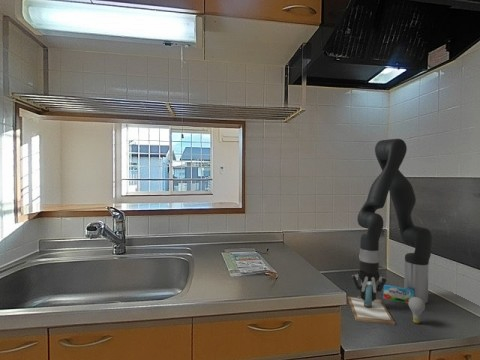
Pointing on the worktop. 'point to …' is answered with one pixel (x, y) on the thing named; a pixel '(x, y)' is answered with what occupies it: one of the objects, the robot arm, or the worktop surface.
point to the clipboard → (370, 311)
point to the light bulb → (416, 308)
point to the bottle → (368, 295)
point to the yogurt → (397, 293)
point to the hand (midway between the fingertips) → (368, 299)
